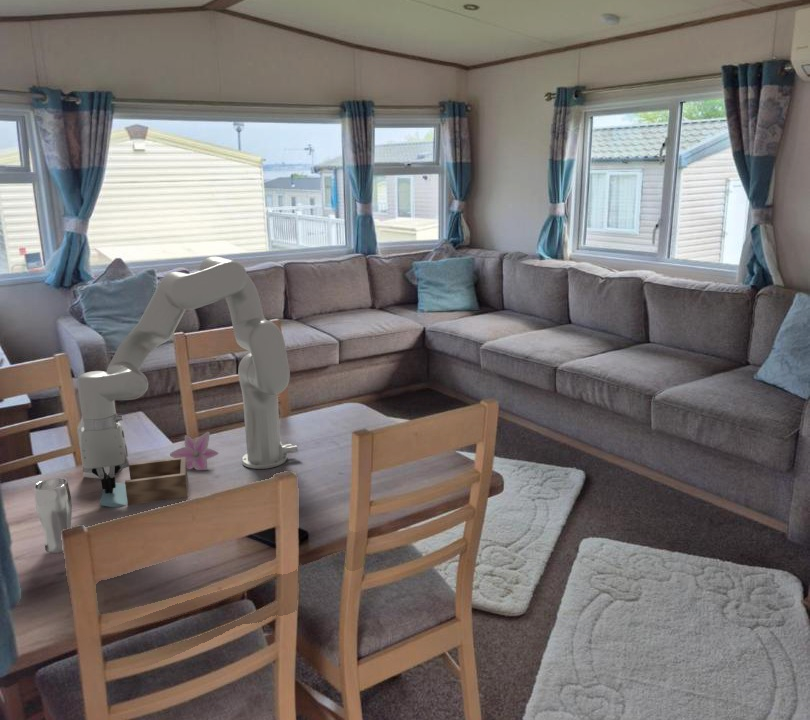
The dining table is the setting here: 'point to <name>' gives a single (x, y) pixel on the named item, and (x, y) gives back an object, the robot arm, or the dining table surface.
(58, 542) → the beer glass
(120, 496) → the tailgate
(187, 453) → the lily
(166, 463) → the box
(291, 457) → the dining table surface
